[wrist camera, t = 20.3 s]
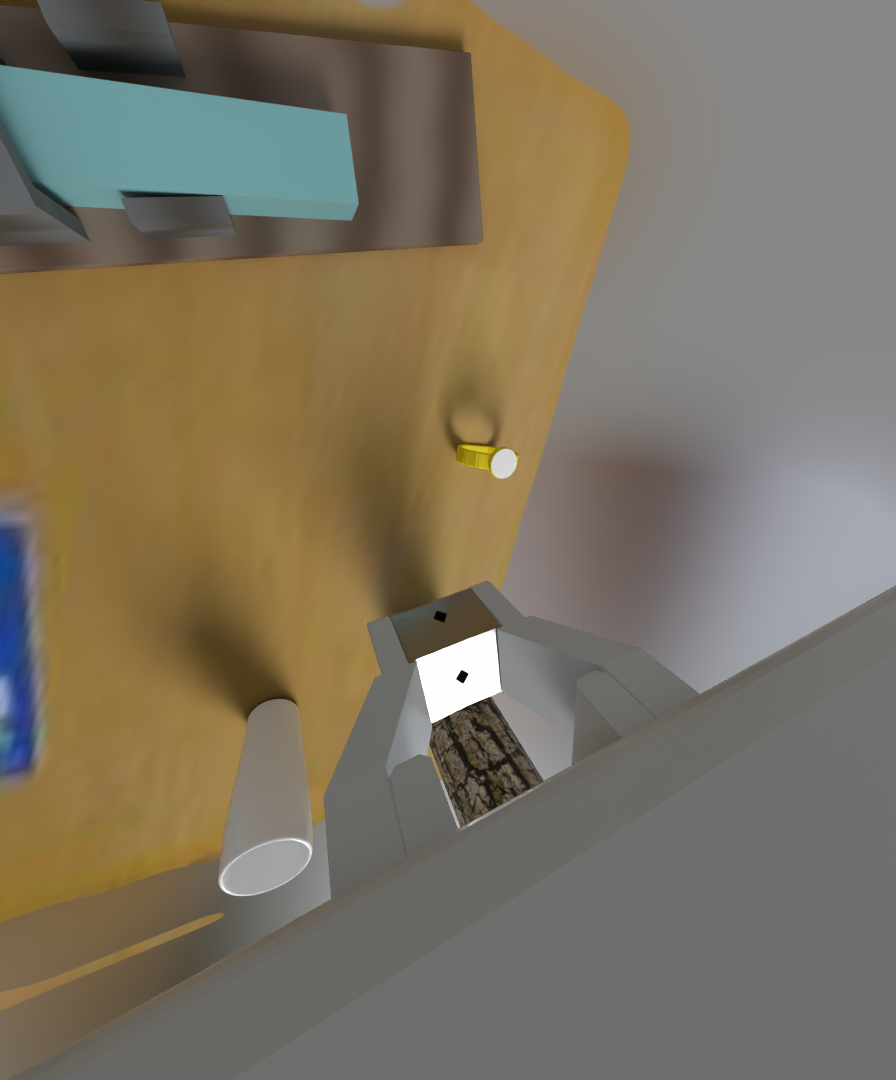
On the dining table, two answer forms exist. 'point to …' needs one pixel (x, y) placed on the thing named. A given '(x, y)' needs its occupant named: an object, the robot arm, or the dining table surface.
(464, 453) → the watch
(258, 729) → the drinking glass
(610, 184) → the dining table surface
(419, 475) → the dining table surface
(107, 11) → the end-cap base
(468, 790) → the brown bark cylinder
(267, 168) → the slat
